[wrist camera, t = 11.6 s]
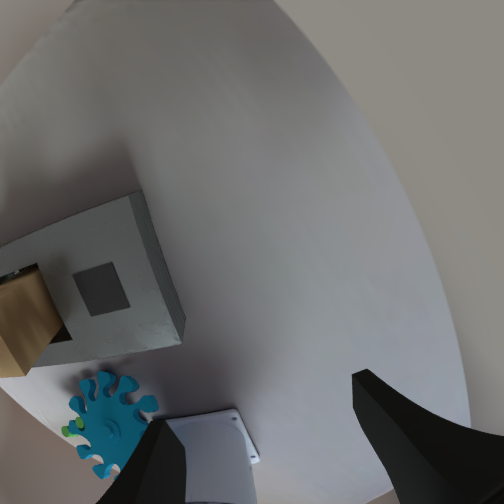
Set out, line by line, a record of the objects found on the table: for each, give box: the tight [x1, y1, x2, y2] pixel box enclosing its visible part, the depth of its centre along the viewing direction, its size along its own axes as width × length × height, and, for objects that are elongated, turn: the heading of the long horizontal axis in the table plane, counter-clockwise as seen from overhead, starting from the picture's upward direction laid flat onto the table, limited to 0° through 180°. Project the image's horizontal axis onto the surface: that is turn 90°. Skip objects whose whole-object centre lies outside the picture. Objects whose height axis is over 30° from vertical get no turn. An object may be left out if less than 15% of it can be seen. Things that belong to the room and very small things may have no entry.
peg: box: [0, 265, 64, 378], centre depth 14 cm, size 4×4×8 cm
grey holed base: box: [0, 190, 186, 368], centre depth 16 cm, size 9×20×3 cm, turn 104°
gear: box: [62, 371, 159, 480], centre depth 20 cm, size 11×6×10 cm
